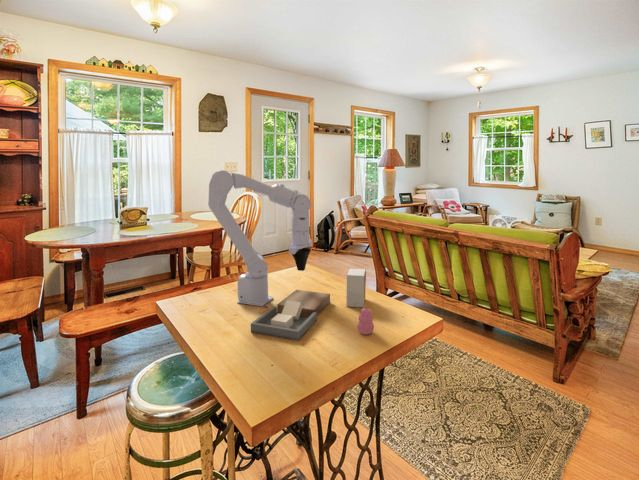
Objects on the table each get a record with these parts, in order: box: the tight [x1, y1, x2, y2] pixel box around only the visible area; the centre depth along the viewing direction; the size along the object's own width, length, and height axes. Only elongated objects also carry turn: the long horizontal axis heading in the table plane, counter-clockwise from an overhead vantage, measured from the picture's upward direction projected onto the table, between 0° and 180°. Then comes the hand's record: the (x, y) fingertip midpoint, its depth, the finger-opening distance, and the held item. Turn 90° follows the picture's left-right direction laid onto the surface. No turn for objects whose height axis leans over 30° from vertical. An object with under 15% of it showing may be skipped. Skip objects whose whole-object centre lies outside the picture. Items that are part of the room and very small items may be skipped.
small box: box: [346, 267, 367, 308], centre depth 118 cm, size 8×6×10 cm
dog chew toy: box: [356, 306, 375, 335], centre depth 97 cm, size 4×4×7 cm
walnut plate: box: [276, 289, 331, 318], centre depth 114 cm, size 12×14×3 cm
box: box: [250, 305, 318, 342], centre depth 102 cm, size 14×13×2 cm
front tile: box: [271, 314, 293, 328], centre depth 101 cm, size 4×4×2 cm
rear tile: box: [282, 300, 303, 320], centre depth 106 cm, size 4×4×2 cm
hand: (301, 270), depth 123 cm, fingers closed
